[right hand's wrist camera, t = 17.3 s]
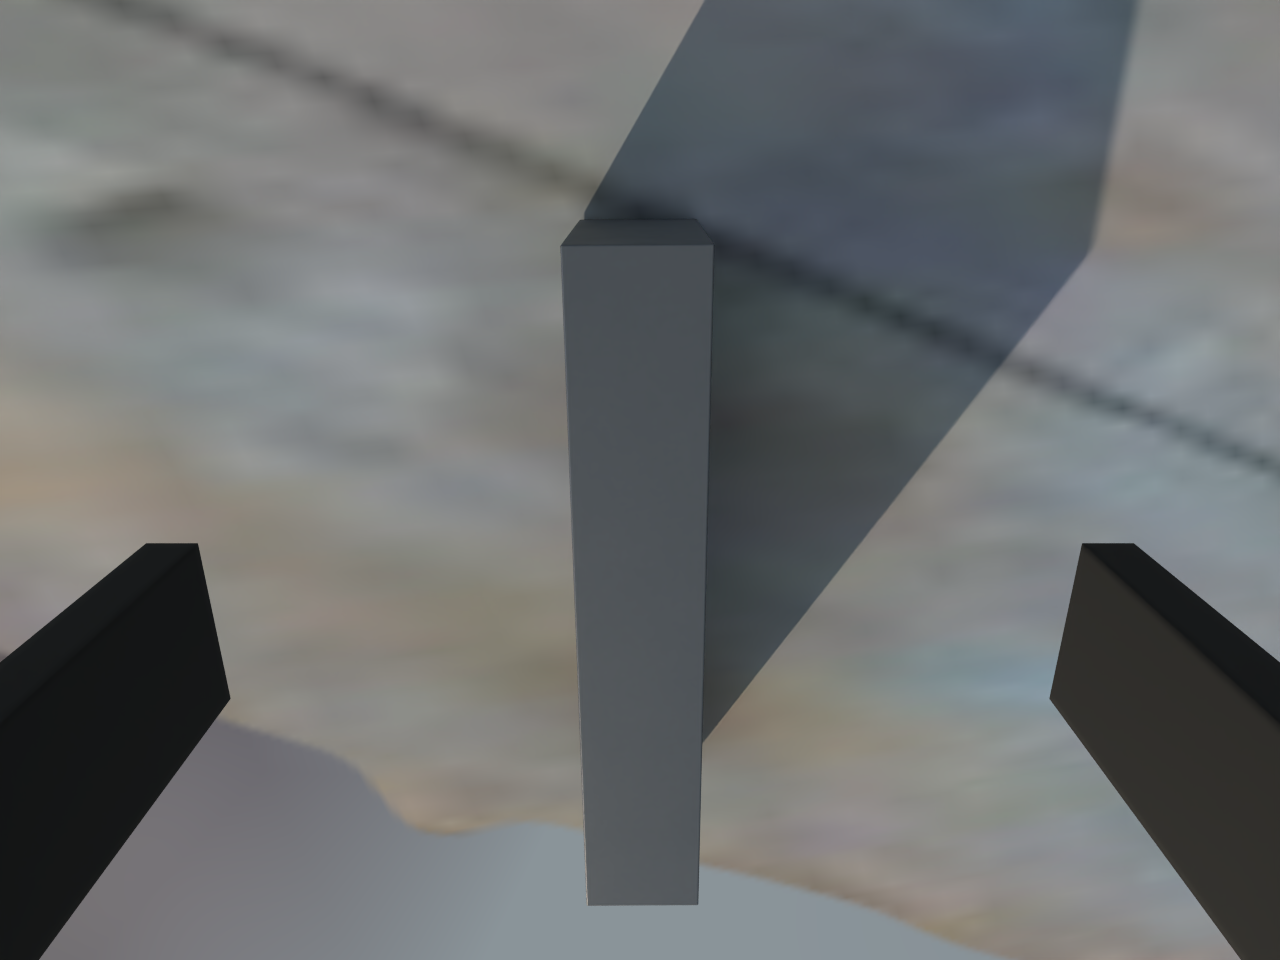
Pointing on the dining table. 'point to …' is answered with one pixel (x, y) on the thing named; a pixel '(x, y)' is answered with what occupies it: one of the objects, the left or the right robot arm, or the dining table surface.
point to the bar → (639, 545)
